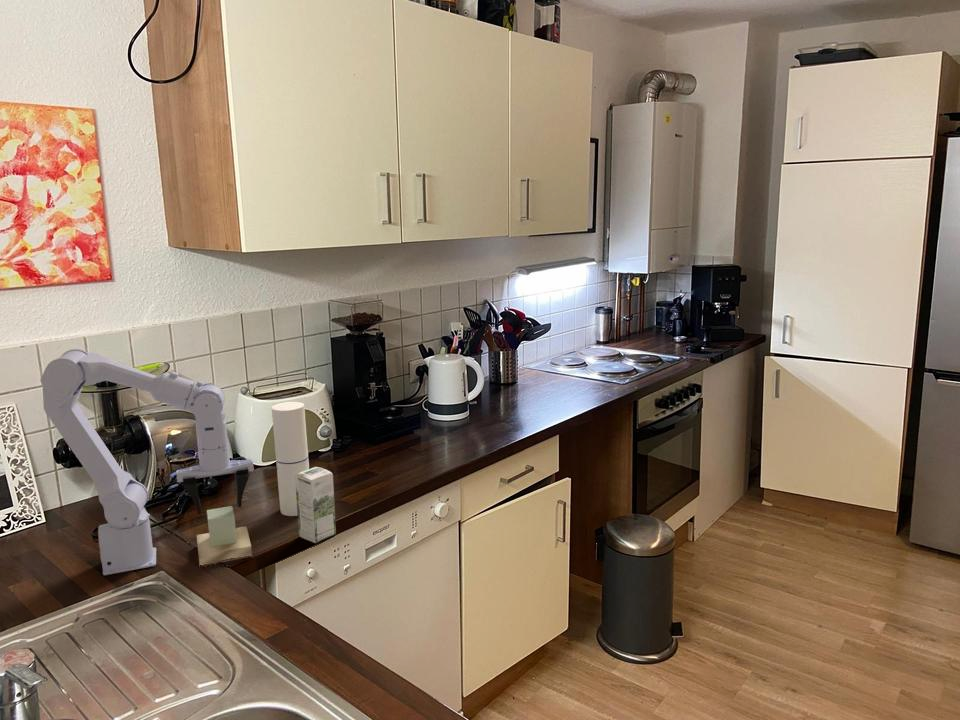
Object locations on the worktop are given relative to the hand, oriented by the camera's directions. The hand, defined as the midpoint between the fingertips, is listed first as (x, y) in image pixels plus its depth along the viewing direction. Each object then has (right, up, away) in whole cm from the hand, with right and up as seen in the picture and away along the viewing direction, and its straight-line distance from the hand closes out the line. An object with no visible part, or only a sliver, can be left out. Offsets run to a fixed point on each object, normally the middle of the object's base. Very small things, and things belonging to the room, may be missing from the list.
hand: (219, 508), depth 152 cm
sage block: (0, -7, +2) cm, 7 cm away
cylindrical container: (+10, -5, +22) cm, 25 cm away
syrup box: (+18, -8, +8) cm, 21 cm away
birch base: (0, -10, +2) cm, 10 cm away
